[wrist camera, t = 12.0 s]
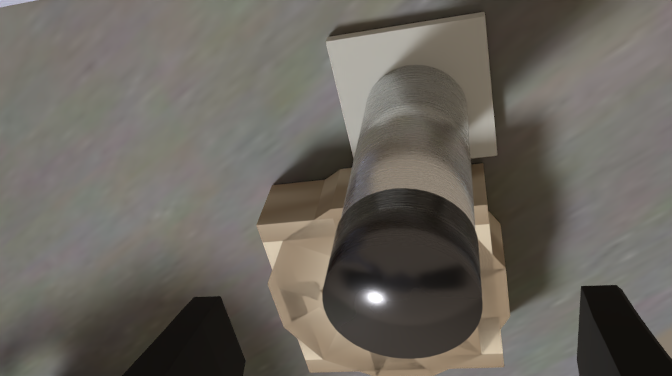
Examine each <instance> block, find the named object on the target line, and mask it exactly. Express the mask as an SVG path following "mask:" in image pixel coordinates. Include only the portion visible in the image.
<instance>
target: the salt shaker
mask: <svg viewBox="0 0 672 376" xmlns="http://www.w3.org/2000/svg"><path fill="white" fill-rule="evenodd" d="M322 302H323V307H324V310H325V313H326V316H327V317H328V319H329V321H330V323H331V324H332V325H333V327H334V328H335V329H336V330H337V331H338V332H339V333H340V334H341V335H342V336H343V337H345V338H346V339H347V340H348V341H350V342H352V343H353V344H355V345H356V346H358V347H360V348H362V349H364V350H367V351H369V352H372V353H375V354H379V355H382V356H387V357H392V358H401V359H416V358H425V357H431V356H435V355H439V354H442V353H445V352H447V351H449V350H451V349H454V348H456V347H457V346H459V345H460V344H462V343H463V342H464V341H465V340H467V339H468V338H469V337H470V336H471V335H472V333H473V332H474V331H475V329H476V328H477V326H478V324H479V322H480V319H481V316H482V311H483V302H482V287H481V273H480V259H479V244H478V237H477V233H476V231H475V216H474V201H473V185H472V170H471V155H470V139H469V124H468V109H467V101H466V98H465V95H464V93H463V91H462V89H461V87H460V86H459V84H458V83H457V82H456V81H455V80H454V79H453V78H452V77H451V76H449V75H448V74H446V73H445V72H443V71H441V70H439V69H437V68H434V67H430V66H425V65H408V66H403V67H400V68H396V69H394V70H392V71H390V72H388V73H387V74H385V75H384V76H382V77H381V78H380V79H379V80H378V81H377V82H376V83H375V85H374V86H373V87H372V89H371V91H370V93H369V95H368V98H367V102H366V106H365V111H364V116H363V120H362V125H361V129H360V134H359V138H358V143H357V147H356V152H355V156H354V161H353V166H352V170H351V175H350V179H349V184H348V188H347V193H346V197H345V202H344V206H343V211H342V215H341V219H340V221H339V223H338V226H337V229H336V233H335V238H334V242H333V247H332V251H331V255H330V260H329V264H328V269H327V273H326V278H325V282H324V287H323V293H322Z"/></svg>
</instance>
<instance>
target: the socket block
mask: <svg viewBox="0 0 672 376" xmlns="http://www.w3.org/2000/svg"><path fill="white" fill-rule="evenodd" d="M351 170H352V168H345V169H340V170H338V171H337V172H335V173H334V174H333V175H331V176H330V177H328V178H327V179H325V180H317V181H308V182H298V183H289V184H279V185H272V187H271V190H270V192H269V195H268V197H267V200H266V202H265V205H264V207H263V210H262V212H261V215H260V217H259V220H258V223H257V228H258V231H259V234H260V236H261V239H262V242H263V245H264V248H265V250H266V253H267V256H268V259H269V261H270V264H271V267H272V272H271V275H270V278H269V281H268V286H269V289H270V292H271V294H272V297H273V300H274V302H275V305H276V308H277V310H278V313H279V316H280V318H281V321H282V324H283V326H284V328H286V329H287V330H288V331H289V332H291V333H292V334H293V335H294V336H295V337H297V338H298V341H299V344H300V347H301V349H302V352H303V355H304V358H305V360H306V363H307V366H308V369H309V371H310V373H312V372H348V371H360V372H363V373H366V374H369V375H372V376H434V375H436V374H438V373H441V372H443V371H445V370H448V369H455V368H490V367H504V360H503V350H502V340H501V330H500V329H501V328H502V327H503V325H504V324H505V323H506V321H507V320H508V318H509V317H510V310H509V298H508V287H507V276H506V266H505V258H504V249H503V241H502V232H501V224H500V223H499V222H498V221H497V220H496V219H495V217H494V216H493V215H492V214H491V213H490V212H489V211H488V204H487V194H486V184H485V175H484V165H483V163H480V164H471V170H472V185H473V201H474V216H475V231H476V233H477V237H478V244H479V259H480V273H481V287H482V302H483V311H482V316H481V319H480V322H479V324H478V326H477V328H476V329H475V331H474V332H473V333H472V335H471V336H470V337H469V338H468V339H467V340H465V341H464V342H463V343H462V344H460V345H459V346H457V347H456V348H454V349H451V350H449V351H447V352H445V353H442V354H439V355H435V356H431V357H425V358H416V359H401V358H392V357H387V356H382V355H379V354H375V353H372V352H369V351H367V350H364V349H362V348H360V347H358V346H356V345H355V344H353V343H352V342H350V341H348V340H347V339H346V338H345V337H343V336H342V335H341V334H340V333H339V332H338V331H337V330H336V329H335V328H334V327H333V325H332V324H331V323H330V321H329V319H328V317H327V316H326V313H325V310H324V307H323V302H322V293H323V287H324V282H325V278H326V273H327V269H328V264H329V260H330V255H331V251H332V247H333V242H334V238H335V233H336V229H337V226H338V223H339V221H340V219H341V215H342V211H343V206H344V202H345V197H346V193H347V188H348V184H349V179H350V175H351Z"/></svg>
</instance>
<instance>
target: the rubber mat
mask: <svg viewBox="0 0 672 376" xmlns="http://www.w3.org/2000/svg"><path fill="white" fill-rule="evenodd" d="M326 45H327V49H328V53H329V57H330V62H331V66H332V70H333V74H334V78H335V83H336V87H337V91H338V95H339V100H340V104H341V108H342V112H343V116H344V121H345V125H346V129H347V133H348V137H349V142H350V146H351V150H352V154H353V158H354V156H355V152H356V147H357V143H358V138H359V134H360V129H361V125H362V120H363V116H364V111H365V106H366V102H367V98H368V95H369V93H370V91H371V89H372V87H373V86H374V85H375V83H376V82H377V81H378V80H379V79H380V78H381V77H382V76H384V75H385V74H387V73H388V72H390V71H392V70H394V69H396V68H400V67H403V66H408V65H425V66H430V67H434V68H437V69H439V70H441V71H443V72H445V73H446V74H448V75H449V76H451V77H452V78H453V79H454V80H455V81H456V82H457V83H458V84H459V86H460V87H461V89H462V91H463V93H464V95H465V98H466V101H467V109H468V124H469V139H470V155H471V158H481V157H490V156H497V145H496V134H495V122H494V111H493V100H492V88H491V77H490V66H489V54H488V43H487V32H486V20H485V12H479V13H473V14H467V15H461V16H454V17H448V18H442V19H436V20H430V21H423V22H417V23H411V24H405V25H399V26H393V27H386V28H380V29H374V30H368V31H362V32H355V33H349V34H343V35H337V36H331V37H327V40H326Z"/></svg>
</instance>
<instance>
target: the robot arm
mask: <svg viewBox="0 0 672 376" xmlns="http://www.w3.org/2000/svg"><path fill="white" fill-rule="evenodd" d="M30 1H35V0H0V7H5V6H10V5H15V4H20V3H25V2H30ZM577 363H578V369H579V376H672V359H671V358H670V356H669V355H668V354H667V353H666V351H665V350H664V349H663V347H662V346H661V345H660V344H659V342H658V341H657V339H656V338H655V337H654V335H653V334H652V333H651V331H650V330H649V329H648V327H647V326H646V325H645V323H644V322H643V320H642V319H641V318H640V316H639V315H638V313H637V312H636V310H635V309H634V307H633V306H632V304H631V303H630V301H629V300H628V298H627V297H626V295H625V294H624V292H623V291H622V289H620V288H619V287H618V286H617V285H604V286H581V297H580V315H579V332H578V349H577ZM244 366H245V358H244V356H243V353H242V351H241V348H240V345H239V343H238V340H237V338H236V335H235V332H234V330H233V327H232V325H231V322H230V319H229V317H228V314H227V312H226V309H225V306H224V304H223V301H222V299H221V296H217V297H194V298H193V299H192V300H191V301H190V302H189V303H188V304H187V305H186V306H185V307H184V309H183V310H182V311H181V312H180V313H179V314H178V315H177V316H176V317H175V319H174V320H173V321H172V322H171V323H170V324H169V325H168V326H167V327H166V329H165V330H164V331H163V332H162V333H161V334H160V335H159V336H158V337H157V339H156V340H155V341H154V342H153V343H152V344H151V345H150V346H149V347H148V348H147V350H146V351H145V352H144V353H143V354H142V355H141V356H140V357H139V358H138V359H137V360H136V361H135V362H134V364H133V365H132V366H131V367H130V368H129V369H128V370H127V371H126V372H125V373H124V374H123V375H122V376H243V372H244Z"/></svg>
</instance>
